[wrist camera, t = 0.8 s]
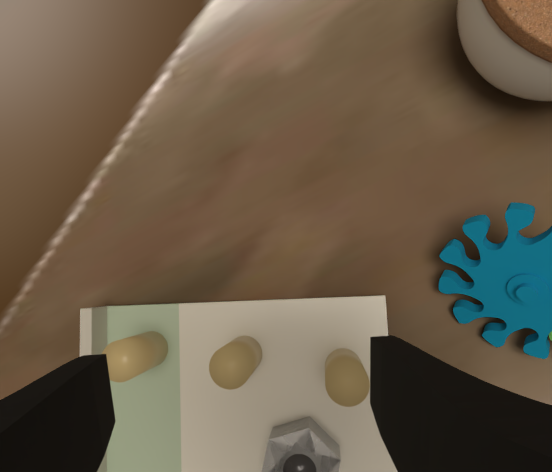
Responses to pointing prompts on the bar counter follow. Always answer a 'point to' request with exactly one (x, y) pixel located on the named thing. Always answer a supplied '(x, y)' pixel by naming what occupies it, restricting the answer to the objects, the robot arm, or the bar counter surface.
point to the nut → (301, 448)
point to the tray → (277, 380)
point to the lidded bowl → (509, 44)
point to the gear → (505, 280)
